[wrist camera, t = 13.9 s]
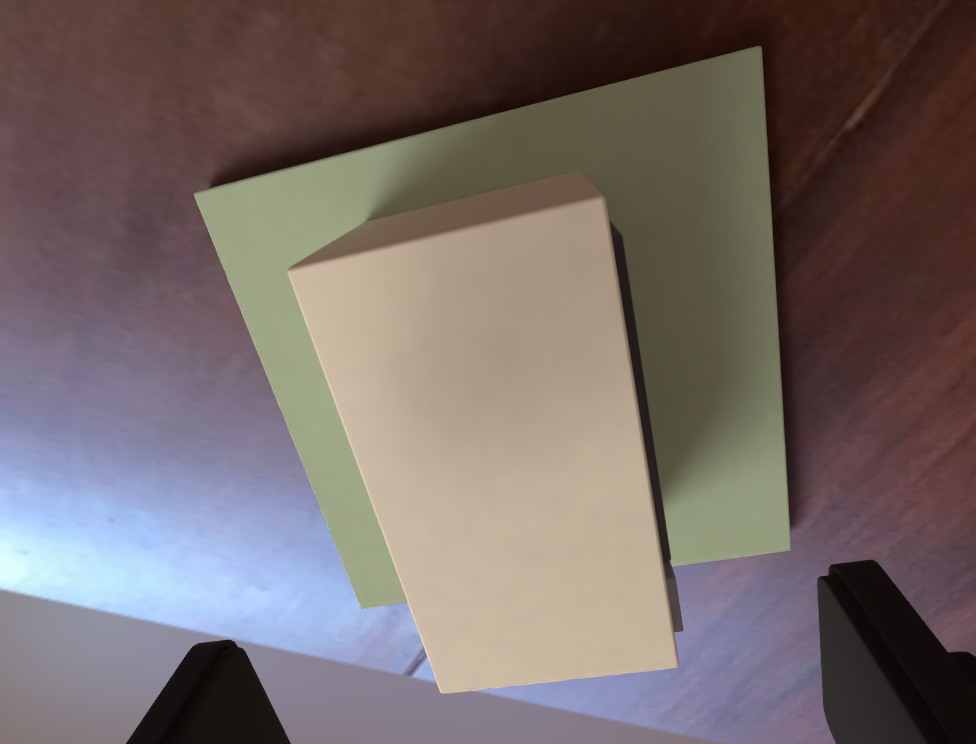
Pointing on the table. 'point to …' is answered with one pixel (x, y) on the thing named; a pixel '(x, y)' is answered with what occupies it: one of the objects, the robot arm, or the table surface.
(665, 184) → the mat
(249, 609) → the table surface
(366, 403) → the toy oven
